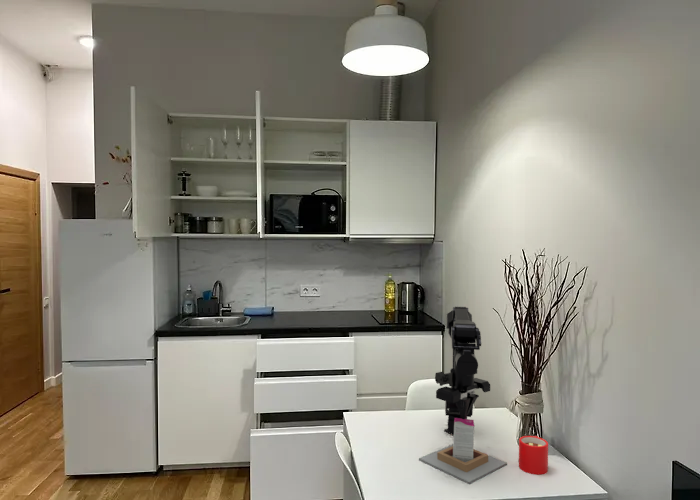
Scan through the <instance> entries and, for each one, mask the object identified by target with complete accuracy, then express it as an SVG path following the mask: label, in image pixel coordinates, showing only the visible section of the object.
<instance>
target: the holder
mask: <svg viewBox="0 0 700 500" xmlns="http://www.w3.org/2000/svg"><path fill="white" fill-rule="evenodd" d="M418 461H419V462H422V463H424V464H426V465H428V466H431V467H432V468H435V470H436V469H437V470H439V471H441V472H443V473H444V474H447V475H449V476H451V477H453V478H456V479H458V480H460V481H462V482H464V483H466V484H467V485H471V484H473V483H474V482H477V481H478V480H481V479H482V478H484V477H486V476H487V475H490V474H491V473H493V472H495V471H498V470H500V469H501V468H504V467H505V466H507V465H508V463H507V462H506V461H504V460H502V459H499V458H496V457H494V456H493V455H489V454H487V453H485V452H482V451H479V450H477V449H475V448H473V459H472V460H470V461H468V462H463V461H461V460H459V459H456V458H454V457H453V444H450V445H447V446H445V447H442V448H440V449H438V450H435V451H433V452H430V453H429V454H426V455H423V456H421V457H419V458H418Z"/></svg>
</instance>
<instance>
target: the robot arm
mask: <svg viewBox="0 0 700 500" xmlns="http://www.w3.org/2000/svg"><path fill="white" fill-rule="evenodd" d="M445 325H446V326H445V327H446V328H445V329H447V333H448V335H449V337H450V339H451V349H452V368H450V372H446V373H444V372H443V371H438V372H435V375H434V376H435V377H434V380H435V383H436V384H437V385H438V384H439V386H440V388H439V387H438V388H437V390H435V394H436V395H435V398H436V399H438V400H441V401H444V413H445V416H447V417H448V418H447V428H446V429H444V431H443V432H446V433H448V434H450V435H452V436H454V419H455V418H460V419H468V417H469V418H472V416H473V411H474V410H473V408H474V404H475V402H476V400H477V399H479V397H480V396H479V394H476V391H475V390H479V389H481V390H482V392H483V393H489V392H491V383H490V382H489V381H488V380H485V379H481V378H478V377H475V375H476V374H478V369H479V362H478V360H477V357H476V355H475V350H476V351H479V350H480V348H481V347H482V337H481V335H482V334H481V330H480V328H479V327H477V324H476V322H475V321H473V315H472V313H471V312H470V311H469V307H466V306H453V307H452V310H451V311H449V312H447V314H446V320H445ZM444 385H446V386H444ZM447 385H448V386H447Z"/></svg>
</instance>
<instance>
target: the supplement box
mask: <svg viewBox="0 0 700 500" xmlns="http://www.w3.org/2000/svg"><path fill="white" fill-rule="evenodd" d="M474 422H475V421H474V419H471V418H470V419H468V418H467V419H460V418H455V419H454V435H453V442H452V443H453V457H454V458H456V459H459V460H461V461H463V462H468V461H470V460H472V459H473V449H475V448H474V445H475V444H474V443H475V442H474V441H475V423H474Z"/></svg>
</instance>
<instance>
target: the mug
mask: <svg viewBox="0 0 700 500" xmlns="http://www.w3.org/2000/svg"><path fill="white" fill-rule="evenodd" d="M548 465H549V442H548V441H547V440H546V439H544V438H542V437H539V436H538V435H523V436H521V437H519V440H518V468H519V469H520V470H521V472H524V473H526V474H530V475H533V476H534V475H538V476H540V475H546V474H547V473H548V471H549V466H548Z"/></svg>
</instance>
